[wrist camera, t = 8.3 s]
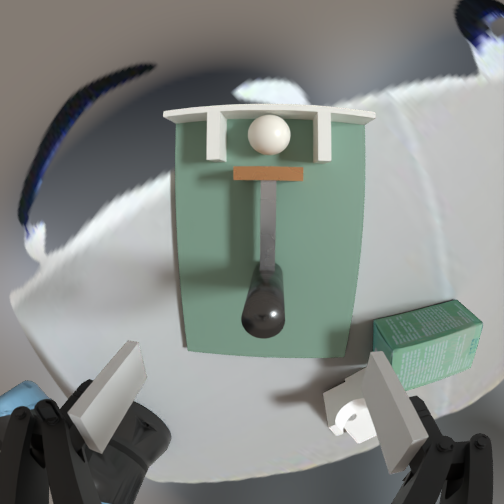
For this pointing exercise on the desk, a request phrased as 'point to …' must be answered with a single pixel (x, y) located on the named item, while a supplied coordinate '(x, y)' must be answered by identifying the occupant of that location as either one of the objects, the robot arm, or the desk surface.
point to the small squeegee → (266, 255)
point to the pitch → (287, 226)
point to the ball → (269, 134)
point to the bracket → (349, 409)
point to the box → (428, 342)
